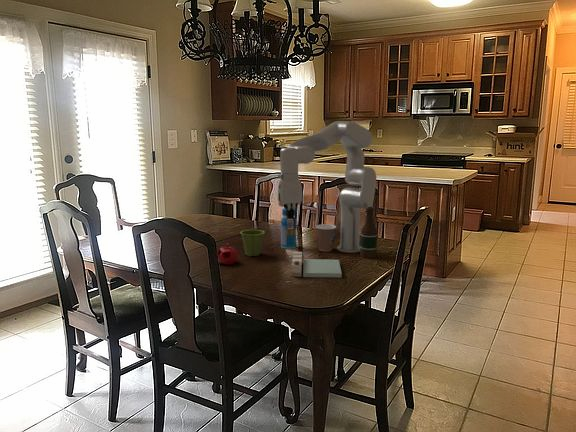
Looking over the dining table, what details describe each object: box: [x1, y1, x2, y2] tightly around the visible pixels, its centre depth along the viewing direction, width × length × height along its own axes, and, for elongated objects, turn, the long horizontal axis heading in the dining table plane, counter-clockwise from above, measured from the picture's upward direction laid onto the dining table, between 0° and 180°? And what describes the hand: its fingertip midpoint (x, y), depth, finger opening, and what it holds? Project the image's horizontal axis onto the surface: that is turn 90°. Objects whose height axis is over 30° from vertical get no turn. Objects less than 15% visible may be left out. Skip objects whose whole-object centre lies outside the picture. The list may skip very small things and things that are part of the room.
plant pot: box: [239, 229, 266, 257], centre depth 230 cm, size 12×12×11 cm
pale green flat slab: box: [302, 258, 343, 279], centre depth 207 cm, size 20×16×2 cm
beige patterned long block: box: [291, 251, 303, 277], centre depth 207 cm, size 20×4×6 cm, turn 177°
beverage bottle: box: [280, 207, 298, 250], centre depth 243 cm, size 8×8×20 cm
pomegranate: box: [216, 243, 239, 266], centre depth 217 cm, size 10×10×9 cm
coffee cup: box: [315, 223, 337, 252], centre depth 240 cm, size 10×10×12 cm
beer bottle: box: [359, 206, 378, 260], centre depth 226 cm, size 8×8×24 cm
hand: (290, 218), depth 207 cm, fingers closed
